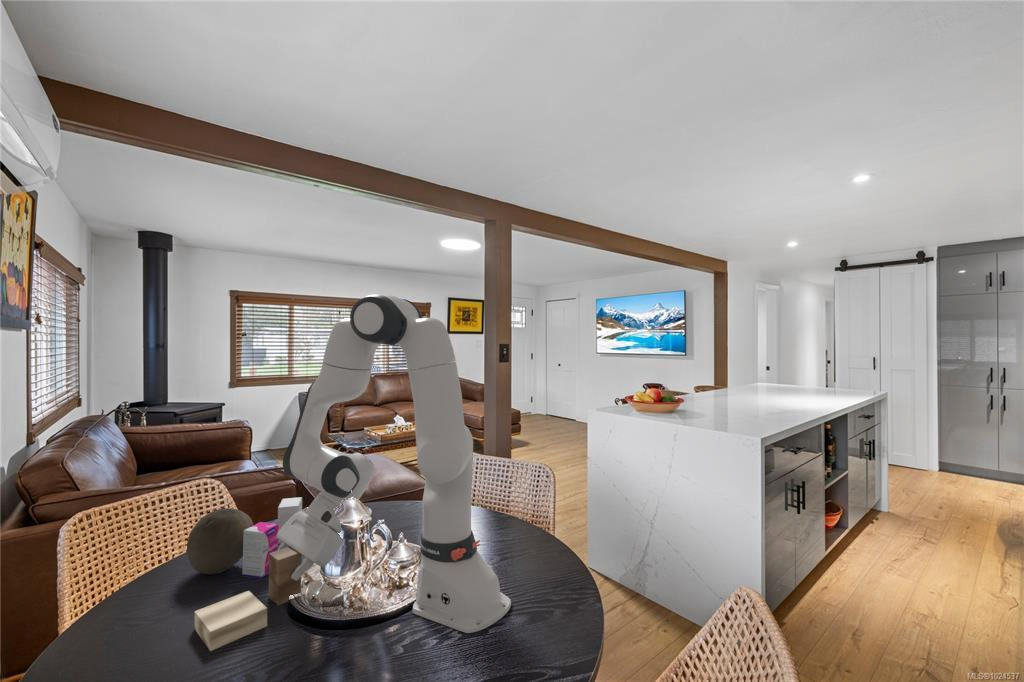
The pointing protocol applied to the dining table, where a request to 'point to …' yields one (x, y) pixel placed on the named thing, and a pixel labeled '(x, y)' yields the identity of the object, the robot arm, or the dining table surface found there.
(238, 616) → the beech block
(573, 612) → the dining table surface
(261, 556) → the supplement box
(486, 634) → the dining table surface
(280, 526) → the small box
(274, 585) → the walnut block
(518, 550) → the dining table surface
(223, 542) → the cantaloupe
